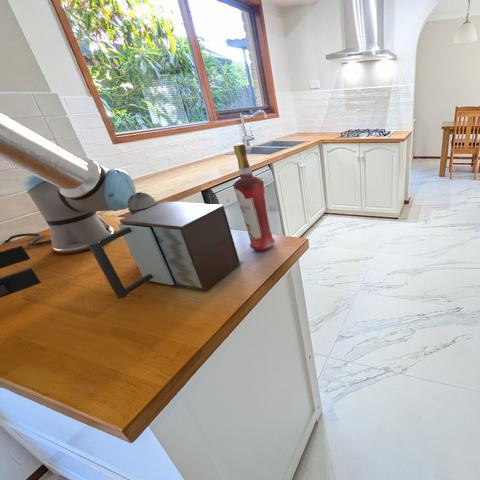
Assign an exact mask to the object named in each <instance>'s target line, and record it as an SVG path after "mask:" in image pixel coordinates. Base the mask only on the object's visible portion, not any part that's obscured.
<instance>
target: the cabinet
mask: <svg viewBox="0 0 480 480" xmlns="http://www.w3.org/2000/svg"><path fill="white" fill-rule="evenodd" d="M119 224H123V225H132V226H140V227H149V228H151V230H152V233H153V235H154V237H155V240H156V242H157V244H158V247H159V249H160V251H161V254H162V256H163V258H164V261H165V263H166V265H167V268H168V270H169V272H170V275H171V277H172V279H173V282H174V284H173V285H172V286H177V287H181V288H186V289H187V288H188V289H193V290H196V291H203V292H207V291H208V290H209V289H210V288H212V287H213V286H214V285H215V284H216V283H218V282H219V281H220V280H221V279H222V278H224V277H225V276H226V275H228V274H229V273H230V272H232V270H234V269H235V268H236V267H237V266H239V265H240V264H241V262H240V259H239V255H238V251H237V248H236V245H235V241H234V238H233V233H232V230H231V227H230V224H229V220H228V217H227V213H226V210H225V206H224V205H223V204H211V203H198V202H183V201H170V200H165V201H162V202H161V203H157V205H155V206H153V207H150V208H148V209H145V210H143V211H141V212H138V213H136V214H133V215H132V214H130V215H129V216H126V217H123V218H121V219H119Z"/></svg>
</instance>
